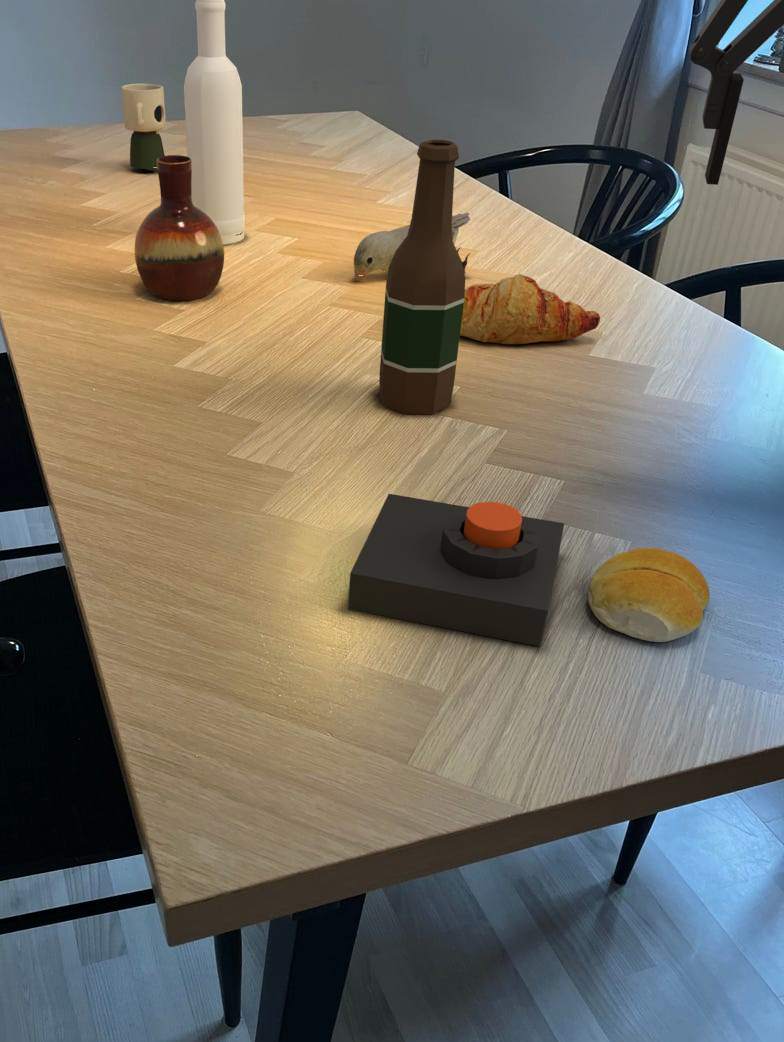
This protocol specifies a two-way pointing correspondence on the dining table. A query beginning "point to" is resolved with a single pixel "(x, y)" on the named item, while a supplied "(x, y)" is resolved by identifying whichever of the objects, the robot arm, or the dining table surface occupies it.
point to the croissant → (521, 313)
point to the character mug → (144, 123)
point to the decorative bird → (391, 247)
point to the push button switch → (455, 572)
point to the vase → (178, 239)
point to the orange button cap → (492, 525)
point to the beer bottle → (424, 295)
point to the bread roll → (649, 594)
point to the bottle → (215, 125)
